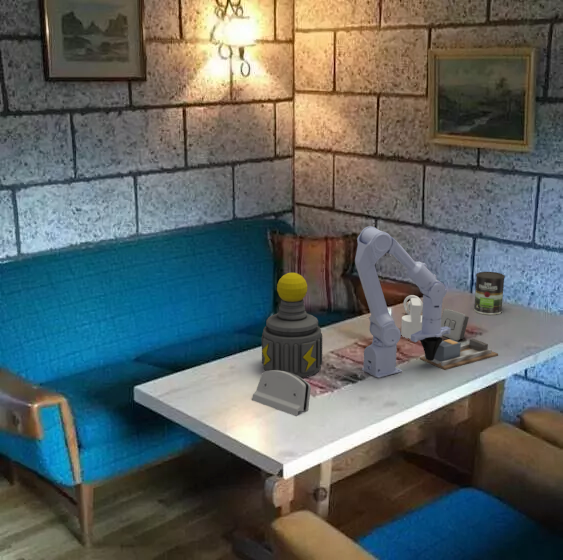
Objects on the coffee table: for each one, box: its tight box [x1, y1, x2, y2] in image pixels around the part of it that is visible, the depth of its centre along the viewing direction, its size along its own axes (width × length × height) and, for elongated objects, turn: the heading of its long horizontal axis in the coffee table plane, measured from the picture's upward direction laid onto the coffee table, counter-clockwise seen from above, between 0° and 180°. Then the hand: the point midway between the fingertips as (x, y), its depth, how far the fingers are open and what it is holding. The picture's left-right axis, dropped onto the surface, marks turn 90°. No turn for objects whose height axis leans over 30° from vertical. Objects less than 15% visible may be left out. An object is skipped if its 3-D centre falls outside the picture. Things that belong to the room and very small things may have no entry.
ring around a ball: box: [402, 294, 423, 315], centre depth 289 cm, size 8×6×8 cm
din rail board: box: [419, 338, 499, 371], centre depth 247 cm, size 23×11×4 cm, turn 122°
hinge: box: [251, 370, 312, 417], centre depth 213 cm, size 17×5×10 cm, turn 49°
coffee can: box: [473, 271, 506, 316], centre depth 294 cm, size 10×10×14 cm
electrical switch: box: [441, 307, 470, 342], centre depth 266 cm, size 9×5×9 cm, turn 35°
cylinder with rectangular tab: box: [400, 297, 422, 340], centre depth 267 cm, size 9×9×12 cm
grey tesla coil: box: [261, 272, 323, 379], centre depth 236 cm, size 19×19×30 cm
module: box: [434, 338, 462, 362], centre depth 244 cm, size 7×4×5 cm, turn 122°
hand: (429, 359), depth 241 cm, fingers closed
